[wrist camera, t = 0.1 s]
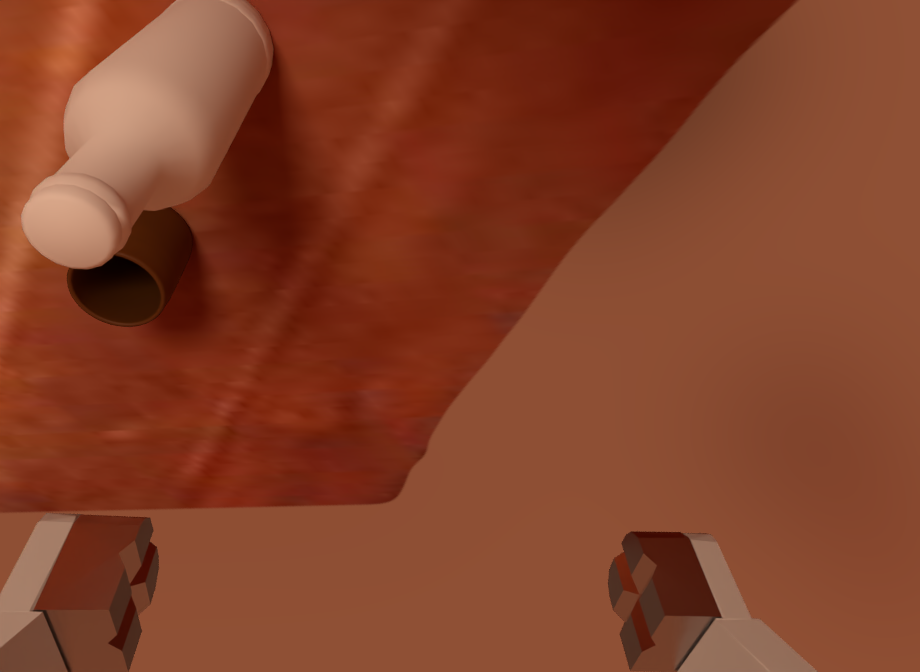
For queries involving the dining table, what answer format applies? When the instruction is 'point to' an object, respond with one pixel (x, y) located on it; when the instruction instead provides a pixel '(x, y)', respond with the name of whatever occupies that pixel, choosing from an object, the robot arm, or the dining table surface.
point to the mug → (136, 272)
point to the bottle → (149, 127)
